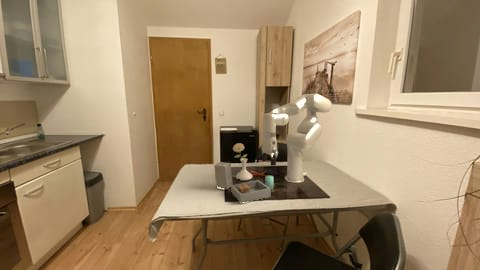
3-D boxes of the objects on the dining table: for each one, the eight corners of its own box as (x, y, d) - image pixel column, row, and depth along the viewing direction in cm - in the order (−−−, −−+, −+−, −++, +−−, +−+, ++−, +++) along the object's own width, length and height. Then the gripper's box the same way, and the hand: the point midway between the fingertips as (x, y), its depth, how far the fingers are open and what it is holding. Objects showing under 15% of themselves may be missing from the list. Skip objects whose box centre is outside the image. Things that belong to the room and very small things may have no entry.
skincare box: (233, 187, 130) (232, 162, 128) (226, 192, 124) (225, 166, 122) (221, 185, 135) (220, 161, 132) (215, 189, 129) (213, 164, 126)
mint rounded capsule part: (270, 185, 132) (270, 175, 131) (275, 188, 127) (275, 177, 126) (263, 187, 130) (263, 176, 129) (267, 190, 125) (267, 179, 124)
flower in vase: (252, 176, 149) (252, 141, 145) (252, 182, 138) (251, 144, 134) (234, 175, 151) (233, 141, 147) (232, 181, 139) (231, 144, 135)
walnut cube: (246, 192, 121) (245, 184, 120) (250, 196, 116) (249, 187, 115) (238, 194, 119) (237, 185, 118) (241, 197, 114) (241, 189, 113)
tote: (258, 187, 129) (258, 180, 128) (270, 197, 116) (270, 188, 115) (230, 193, 122) (230, 185, 121) (240, 204, 109) (240, 195, 108)
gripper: (283, 136, 117) (282, 166, 119) (267, 132, 133) (266, 158, 135) (271, 137, 114) (271, 167, 116) (256, 133, 129) (256, 160, 132)
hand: (268, 163), depth 126 cm, fingers open, 9 cm apart
